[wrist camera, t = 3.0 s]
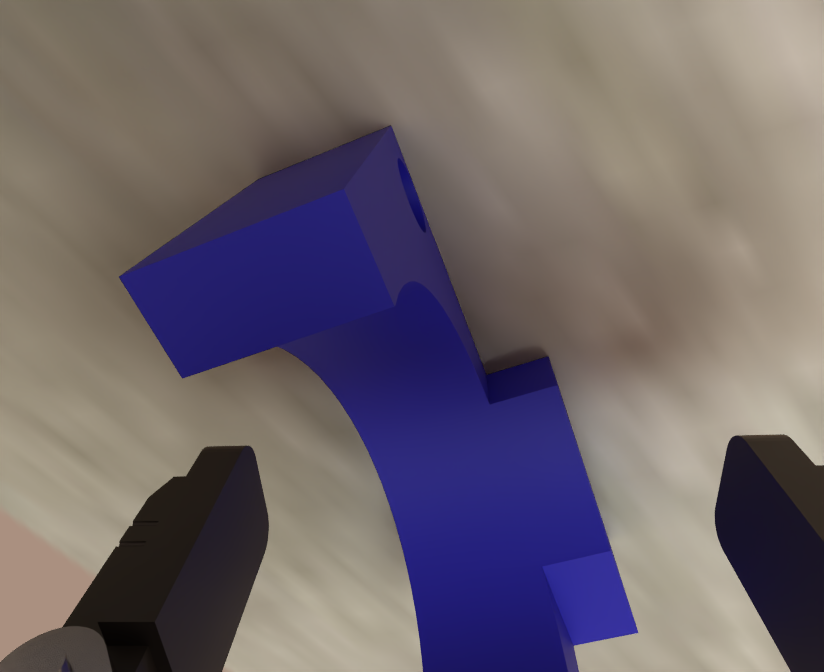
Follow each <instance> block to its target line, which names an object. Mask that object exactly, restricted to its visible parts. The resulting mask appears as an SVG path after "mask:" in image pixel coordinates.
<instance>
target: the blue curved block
mask: <svg viewBox="0 0 824 672" xmlns="http://www.w3.org/2000/svg"><path fill="white" fill-rule="evenodd" d="M119 278H120V280H121V281H122V283H123V284H124V286H125V288H126V289H127V291H128V292H129V294H130V296H131V297H132V299H133V300H134V302H135V304H136V305H137V307H138V308H139V310H140V312H141V313H142V315H143V316H144V318H145V320H146V321H147V323H148V324H149V326H150V328H151V329H152V331H153V332H154V334H155V336H156V337H157V339H158V340H159V342H160V344H161V345H162V347H163V348H164V350H165V352H166V353H167V355H168V356H169V358H170V360H171V361H172V363H173V364H174V366H175V368H176V369H177V371H178V372H179V374H180V376H181V377H182V378H185V377H188V376H191V375H194V374H197V373H200V372H203V371H206V370H209V369H212V368H215V367H218V366H221V365H224V364H227V363H230V362H233V361H235V360H238V359H241V358H244V357H247V356H250V355H253V354H256V353H259V352H262V351H265V350H268V349H271V348H274V347H279V348H282V349H284V350H286V351H287V352H289V353H291V354H293V355H294V356H296V357H297V358H299V359H300V360H301V361H302V362H304V363H305V364H306V365H308V366H309V367H310V368H311V369H312V370H313V371H314V372H315V373H316V374H317V375H318V376H319V377H320V378H321V379H322V380H323V381H324V383H325V384H326V385H327V386H328V387H329V388H330V389H331V391H332V392H333V394H334V395H335V396H336V398H337V399H338V400H339V402H340V403H341V404H342V406H343V408H344V409H345V411H346V412H347V414H348V415H349V417H350V418H351V420H352V422H353V424H354V425H355V427H356V429H357V431H358V432H359V434H360V436H361V438H362V440H363V442H364V444H365V446H366V448H367V450H368V452H369V454H370V457H371V459H372V461H373V463H374V466H375V468H376V470H377V473H378V475H379V478H380V480H381V483H382V485H383V488H384V491H385V494H386V496H387V499H388V502H389V505H390V508H391V511H392V514H393V517H394V521H395V524H396V527H397V531H398V534H399V538H400V541H401V545H402V549H403V553H404V557H405V561H406V565H407V570H408V574H409V579H410V584H411V589H412V594H413V600H414V605H415V611H416V617H417V624H418V631H419V638H420V646H421V655H422V664H423V672H579V670H578V665H577V660H576V656H575V651H574V645H579V644H584V643H589V642H594V641H599V640H604V639H609V638H614V637H619V636H624V635H629V634H634V633H638V630H637V627H636V624H635V621H634V618H633V615H632V612H631V608H630V605H629V602H628V599H627V596H626V593H625V590H624V587H623V583H622V580H621V577H620V574H619V571H618V568H617V565H616V561H615V558H614V555H613V552H612V549H611V546H610V543H609V540H608V537H607V533H606V530H605V527H604V524H603V521H602V518H601V515H600V512H599V509H598V506H597V503H596V500H595V497H594V494H593V491H592V488H591V485H590V482H589V479H588V476H587V473H586V469H585V466H584V463H583V460H582V457H581V454H580V451H579V448H578V445H577V442H576V439H575V436H574V433H573V430H572V427H571V424H570V421H569V418H568V415H567V412H566V409H565V405H564V402H563V399H562V396H561V393H560V390H559V387H558V384H557V381H556V378H555V375H554V372H553V369H552V366H551V363H550V360H549V357H544V358H541V359H538V360H534V361H531V362H528V363H524V364H521V365H518V366H514V367H511V368H508V369H504V370H501V371H498V372H495V373H491V374H488V375H486V373H485V370H484V367H483V365H482V362H481V360H480V357H479V354H478V352H477V349H476V347H475V344H474V341H473V339H472V336H471V333H470V331H469V328H468V326H467V323H466V320H465V318H464V315H463V312H462V310H461V307H460V305H459V302H458V299H457V297H456V294H455V292H454V289H453V286H452V284H451V281H450V278H449V276H448V273H447V271H446V268H445V265H444V263H443V260H442V258H441V255H440V252H439V250H438V247H437V244H436V242H435V239H434V237H433V234H432V231H431V229H430V226H429V223H428V221H427V218H426V216H425V213H424V210H423V208H422V205H421V203H420V200H419V197H418V195H417V192H416V189H415V187H414V184H413V182H412V179H411V176H410V174H409V171H408V168H407V166H406V163H405V161H404V158H403V155H402V153H401V150H400V148H399V145H398V142H397V140H396V137H395V134H394V132H393V129H392V127H391V126H388V127H386V128H383V129H381V130H378V131H376V132H373V133H371V134H369V135H366V136H364V137H361V138H359V139H356V140H354V141H351V142H349V143H346V144H344V145H342V146H339V147H337V148H334V149H332V150H329V151H327V152H324V153H322V154H319V155H317V156H315V157H312V158H310V159H307V160H305V161H302V162H300V163H297V164H295V165H292V166H290V167H287V168H285V169H283V170H280V171H278V172H275V173H273V174H270V175H268V176H265V177H263V178H260V179H258V180H257V181H255V182H254V183H252V184H251V185H249V186H248V187H247V188H245V189H244V190H242V191H241V192H239V193H238V194H237V195H235V196H234V197H232V198H231V199H229V200H228V201H226V202H225V203H224V204H222V205H221V206H219V207H218V208H216V209H215V210H214V211H212V212H211V213H209V214H208V215H206V216H205V217H204V218H202V219H201V220H199V221H198V222H196V223H195V224H194V225H192V226H191V227H189V228H188V229H186V230H185V231H184V232H182V233H181V234H179V235H178V236H176V237H175V238H173V239H172V240H171V241H169V242H168V243H166V244H165V245H163V246H162V247H161V248H159V249H158V250H156V251H155V252H153V253H152V254H151V255H149V256H148V257H146V258H145V259H143V260H142V261H141V262H139V263H138V264H136V265H135V266H133V267H132V268H131V269H129V270H128V271H126V272H125V273H123V274H122V275H121V276H119Z"/></svg>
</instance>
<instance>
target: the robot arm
mask: <svg viewBox="0 0 824 672" xmlns="http://www.w3.org/2000/svg"><path fill="white" fill-rule="evenodd" d="M715 526H716V531H717V536H718V539H719V542H720V544H721V547H722V549H723V551H724V553H725V554H726V556H727V558H728V560H729V562H730V563H731V565H732V567H733V569H734V571H735V572H736V574H737V576H738V578H739V579H740V581H741V583H742V585H743V587H744V588H745V590H746V592H747V594H748V596H749V597H750V599H751V601H752V603H753V605H754V606H755V608H756V610H757V612H758V614H759V615H760V617H761V619H762V621H763V622H764V624H765V626H766V628H767V630H768V631H769V633H770V635H771V637H772V639H773V640H774V642H775V644H776V646H777V648H778V649H779V651H780V653H781V655H782V656H783V658H784V660H785V662H786V664H787V665H788V667H789V669H790V671H791V672H824V465H822V466H815V464H814V463H813V462H812V461H811V460H810V459H809V458H808V457H807V456H806V454H805V453H804V452H803V451H802V450H801V449H800V448H799V447H798V446H797V444H796V443H795V442H794V441H793V440H792V439H791V438H790V437H788V436H787V435H742V436H734V437H732V438H731V440H730V441H729V443H728V446H727V451H726V456H725V461H724V466H723V471H722V476H721V481H720V487H719V492H718V497H717V502H716V507H715ZM268 531H269V521H268V513H267V508H266V503H265V499H264V494H263V489H262V485H261V480H260V475H259V471H258V466H257V461H256V457H255V453H254V451H253V449H252V448H251V447H250V446H213V447H205V448H204V449H203V450H202V451H201V453H200V454H199V456H198V458H197V459H196V461H195V463H194V464H193V466H192V467H191V469H190V471H189V472H188V474H187V476H186V477H173V478H172V479H171V480H169V481H168V482H167V483H166V484H165V485H163V486H162V487H161V488H160V489H158V490H157V491H156V492H155V493H154V494H152V495H151V496H150V497H149V498H148V499H147V501H146V502H145V504H144V505H143V507H142V508H141V510H140V511H139V513H138V514H137V516H136V517H135V519H134V520H133V526H129V528H128V529H127V531H126V532H125V534H124V535H123V537H122V538H121V540H120V541H119V542H120V544H119V547H115V549H114V550H113V552H112V553H111V555H110V556H109V558H108V559H107V561H106V562H105V564H104V565H103V567H102V568H101V570H100V571H99V573H98V574H97V576H96V577H95V579H94V580H93V582H92V584H91V585H90V587H89V588H88V589H87V591H86V593H85V594H84V596H83V597H82V598H81V600H80V601H79V603H78V605H77V606H76V607H75V609H74V611H73V612H72V614H71V615H70V617H69V618H68V620H67V621H66V623H65V624H64V625H63V627H62V628H59V629H55V630H51V631H48V632H46V633H43V634H41V635H39V636H37V637H35V638H33V639H31V640H29V641H27V642H26V643H24V644H22V645H21V646H19V647H18V648H16V649H15V650H14V651H13V652H11V653H10V654H9V655H7V656H6V657H5V658H4V659H3V660H2V661H1V662H0V672H222V670H223V667H224V664H225V662H226V659H227V656H228V653H229V650H230V648H231V645H232V642H233V639H234V637H235V634H236V631H237V628H238V625H239V623H240V620H241V617H242V614H243V612H244V609H245V606H246V603H247V600H248V598H249V595H250V592H251V589H252V587H253V584H254V581H255V578H256V575H257V573H258V570H259V567H260V564H261V562H262V559H263V556H264V553H265V550H266V546H267V541H268Z"/></svg>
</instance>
